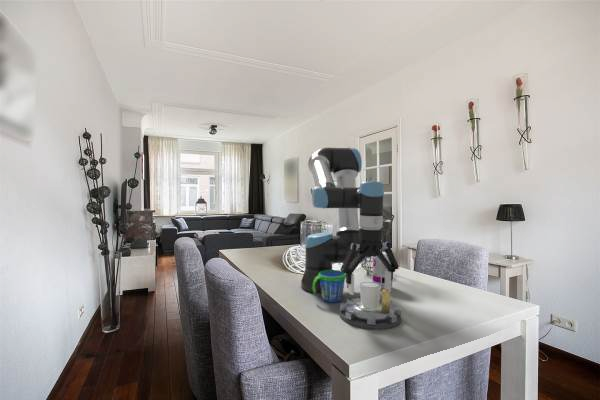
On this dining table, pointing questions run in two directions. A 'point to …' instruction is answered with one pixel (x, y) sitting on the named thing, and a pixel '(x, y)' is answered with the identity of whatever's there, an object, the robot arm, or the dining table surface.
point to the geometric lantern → (382, 238)
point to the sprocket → (371, 310)
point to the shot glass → (370, 294)
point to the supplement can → (379, 271)
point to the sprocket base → (369, 326)
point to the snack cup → (331, 284)
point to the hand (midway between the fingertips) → (369, 291)
